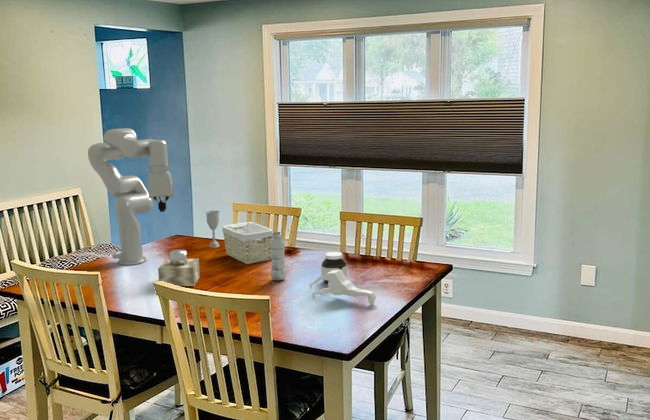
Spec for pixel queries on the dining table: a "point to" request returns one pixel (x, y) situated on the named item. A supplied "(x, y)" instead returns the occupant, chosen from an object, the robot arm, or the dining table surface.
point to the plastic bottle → (277, 257)
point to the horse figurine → (342, 286)
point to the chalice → (213, 224)
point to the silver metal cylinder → (178, 257)
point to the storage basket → (248, 242)
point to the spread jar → (333, 263)
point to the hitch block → (180, 273)
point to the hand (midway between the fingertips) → (162, 211)
